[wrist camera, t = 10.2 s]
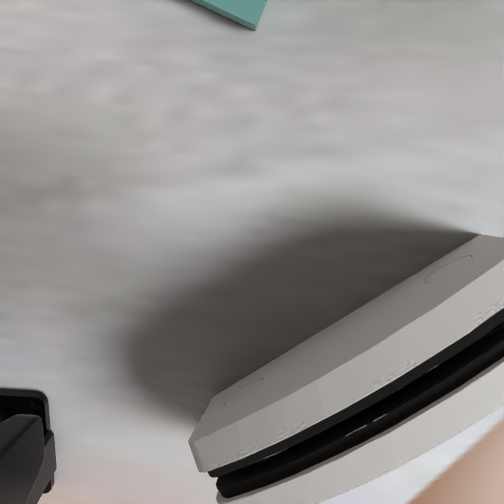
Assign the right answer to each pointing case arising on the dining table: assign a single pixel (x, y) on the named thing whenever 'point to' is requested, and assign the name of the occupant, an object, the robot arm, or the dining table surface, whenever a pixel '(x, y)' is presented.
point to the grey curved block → (364, 388)
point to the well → (237, 10)
